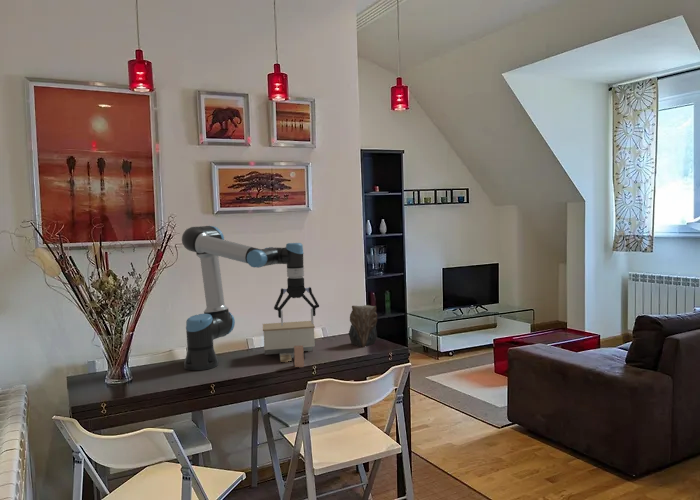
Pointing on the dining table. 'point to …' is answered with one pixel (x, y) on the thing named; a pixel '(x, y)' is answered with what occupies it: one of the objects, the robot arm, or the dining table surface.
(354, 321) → the owl
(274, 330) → the cabinet
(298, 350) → the mallet
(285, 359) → the tile
